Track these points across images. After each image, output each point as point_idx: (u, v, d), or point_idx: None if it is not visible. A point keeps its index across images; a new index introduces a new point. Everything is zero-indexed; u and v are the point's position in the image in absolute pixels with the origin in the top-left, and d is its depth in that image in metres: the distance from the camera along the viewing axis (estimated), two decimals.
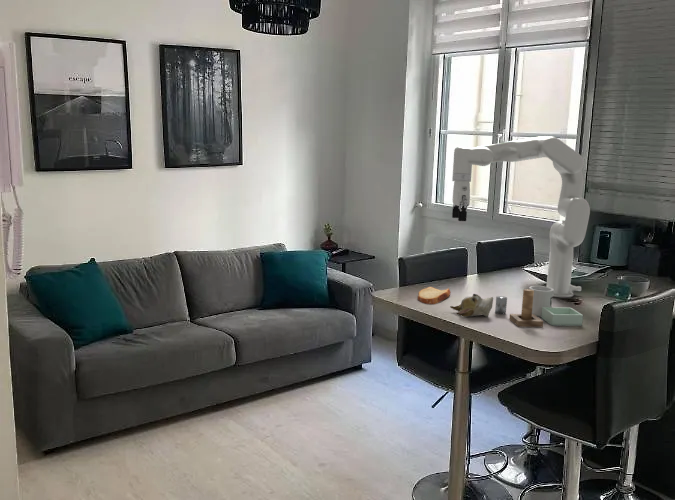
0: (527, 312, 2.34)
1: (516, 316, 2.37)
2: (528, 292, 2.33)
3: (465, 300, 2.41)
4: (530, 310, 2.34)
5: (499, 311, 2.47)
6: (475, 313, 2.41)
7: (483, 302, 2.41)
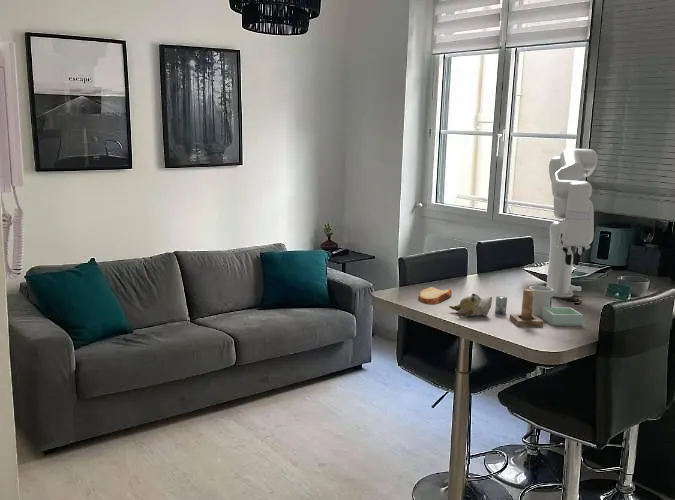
0: (527, 312, 2.34)
1: (516, 316, 2.37)
2: (528, 292, 2.33)
3: (464, 300, 2.41)
4: (530, 310, 2.34)
5: (499, 311, 2.47)
6: (474, 313, 2.41)
7: (482, 301, 2.41)
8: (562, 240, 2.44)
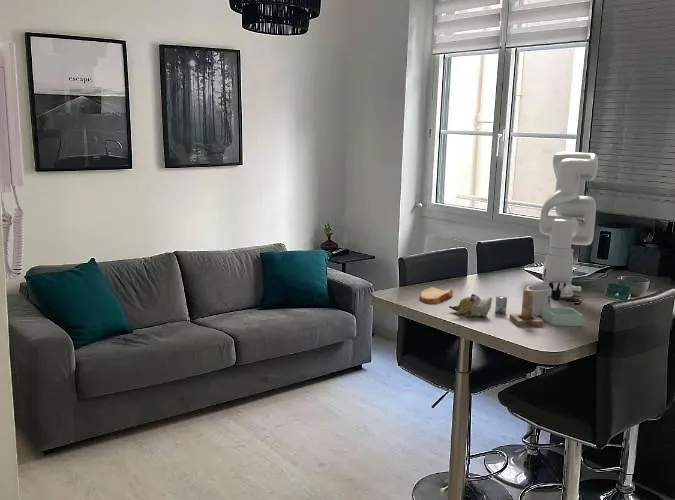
0: (527, 312, 2.34)
1: (516, 316, 2.37)
2: (528, 292, 2.33)
3: (463, 300, 2.41)
4: (530, 310, 2.34)
5: (499, 311, 2.47)
6: (473, 313, 2.40)
7: (481, 302, 2.41)
8: (546, 276, 2.46)
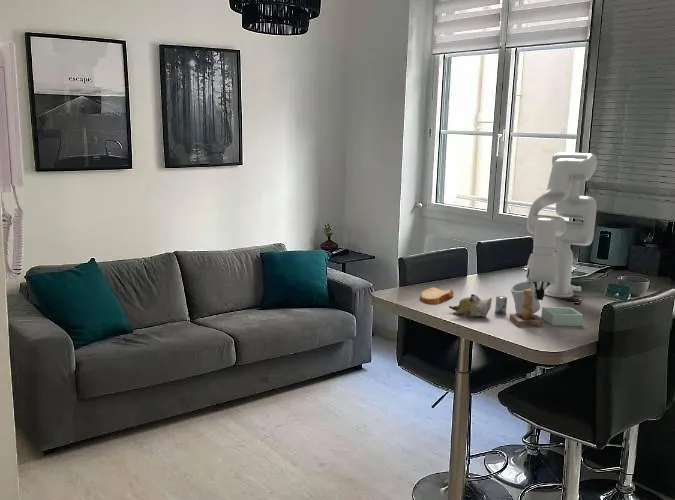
0: (527, 312, 2.34)
1: (516, 316, 2.37)
2: (528, 292, 2.33)
3: (462, 300, 2.41)
4: (530, 310, 2.34)
5: (499, 311, 2.47)
6: (472, 314, 2.40)
7: (481, 302, 2.40)
8: (529, 275, 2.45)
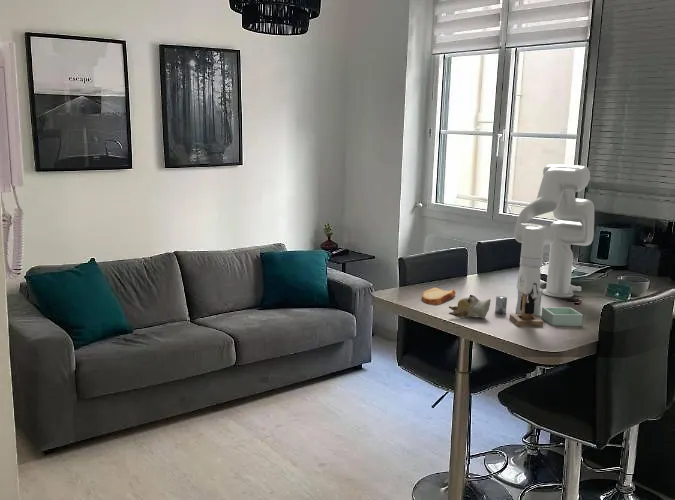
0: None
1: (516, 316, 2.37)
2: None
3: (460, 301, 2.40)
4: None
5: (499, 311, 2.47)
6: (470, 314, 2.39)
7: (479, 303, 2.39)
8: (537, 290, 2.29)
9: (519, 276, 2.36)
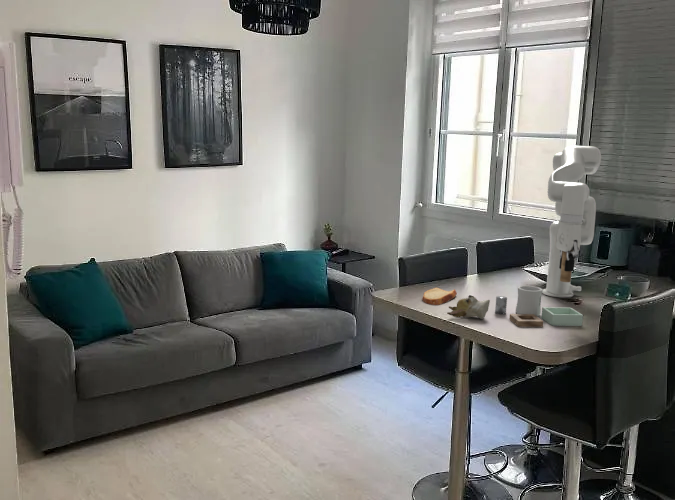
0: None
1: (516, 316, 2.37)
2: None
3: (459, 301, 2.40)
4: None
5: (499, 311, 2.47)
6: (468, 315, 2.38)
7: (478, 304, 2.38)
8: (577, 247, 2.30)
9: (558, 234, 2.37)
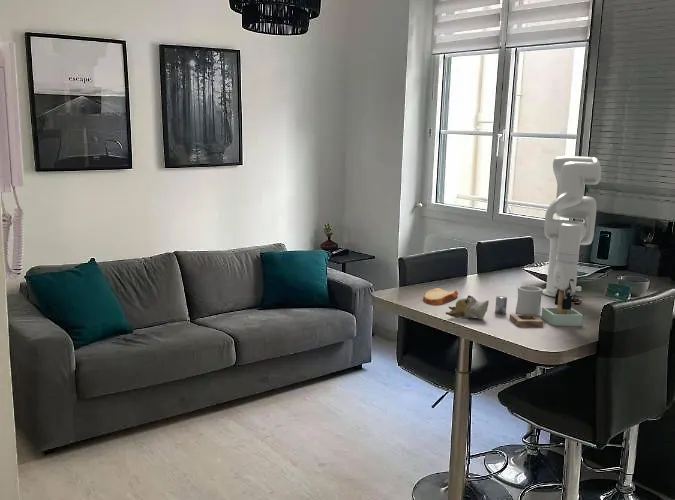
0: None
1: (516, 316, 2.37)
2: None
3: (458, 301, 2.40)
4: None
5: (499, 311, 2.47)
6: (467, 315, 2.38)
7: (476, 304, 2.37)
8: (574, 286, 2.32)
9: (555, 272, 2.39)
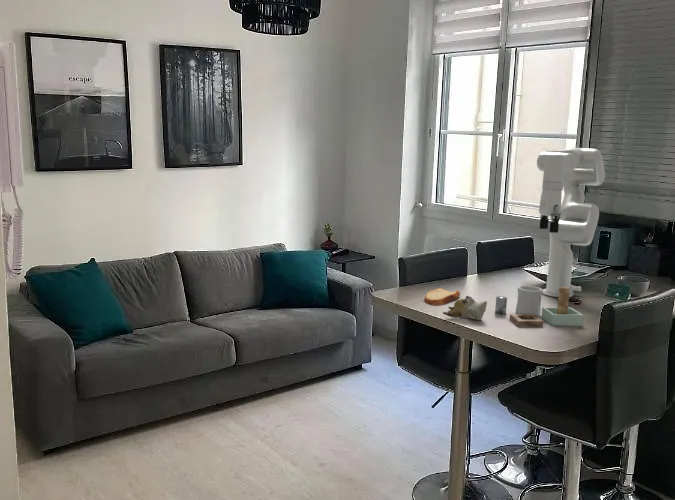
0: (563, 309, 2.37)
1: (516, 316, 2.37)
2: (564, 289, 2.36)
3: (456, 301, 2.39)
4: (566, 307, 2.37)
5: (499, 311, 2.47)
6: (464, 315, 2.37)
7: (474, 305, 2.37)
8: None
9: (541, 201, 2.55)
